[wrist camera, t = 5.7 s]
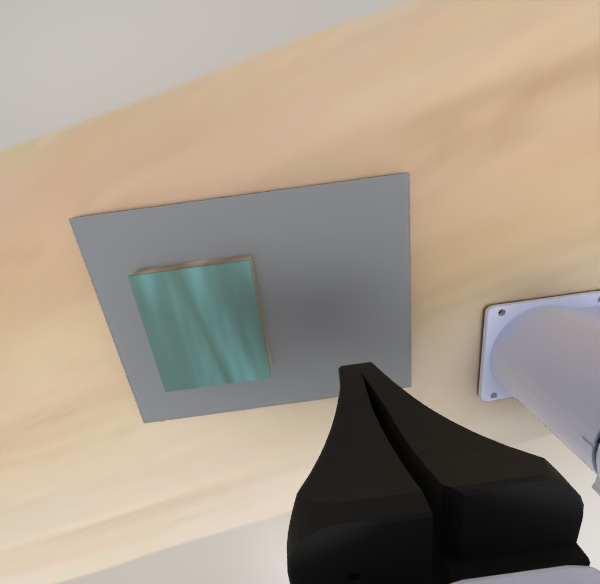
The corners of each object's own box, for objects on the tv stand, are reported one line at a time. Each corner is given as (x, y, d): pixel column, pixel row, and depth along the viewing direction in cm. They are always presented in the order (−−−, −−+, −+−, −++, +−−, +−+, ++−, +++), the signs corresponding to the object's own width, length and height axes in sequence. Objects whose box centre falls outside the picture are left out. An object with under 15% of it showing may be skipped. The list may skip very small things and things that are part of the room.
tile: (249, 259, 18) (127, 276, 18) (271, 377, 21) (165, 392, 21) (252, 253, 20) (139, 269, 20) (272, 364, 22) (173, 377, 22)
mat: (405, 172, 19) (409, 172, 18) (408, 381, 24) (411, 386, 23) (75, 217, 19) (68, 218, 18) (147, 417, 24) (144, 423, 23)
